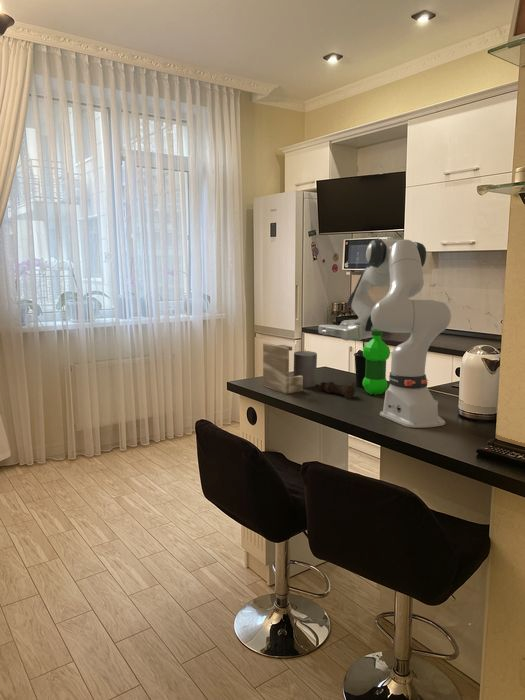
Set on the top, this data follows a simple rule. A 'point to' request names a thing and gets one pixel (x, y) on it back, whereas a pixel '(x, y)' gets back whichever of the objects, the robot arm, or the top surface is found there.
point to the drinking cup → (360, 367)
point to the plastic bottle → (375, 364)
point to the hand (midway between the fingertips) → (323, 332)
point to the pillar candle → (306, 367)
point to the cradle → (279, 369)
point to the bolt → (338, 389)
